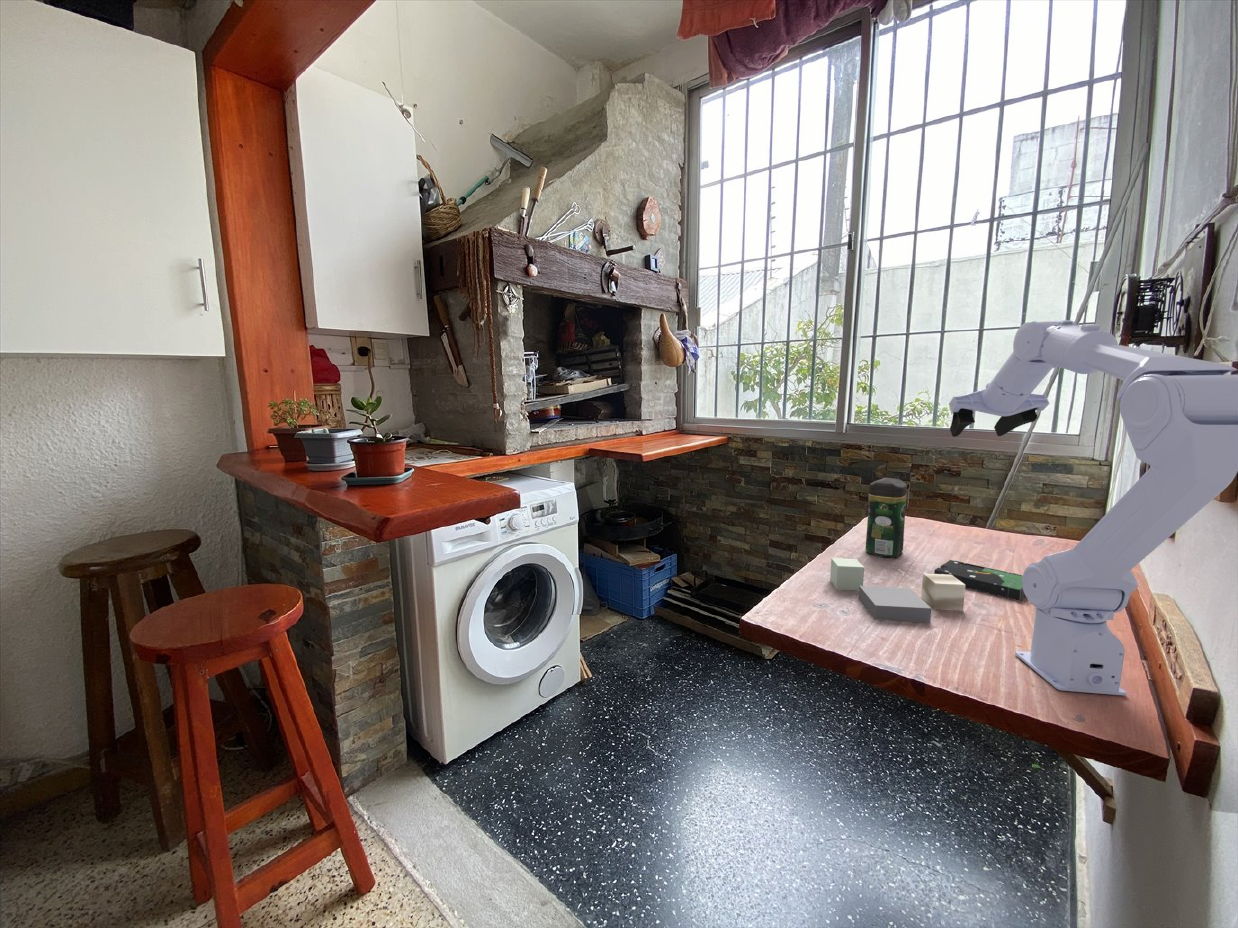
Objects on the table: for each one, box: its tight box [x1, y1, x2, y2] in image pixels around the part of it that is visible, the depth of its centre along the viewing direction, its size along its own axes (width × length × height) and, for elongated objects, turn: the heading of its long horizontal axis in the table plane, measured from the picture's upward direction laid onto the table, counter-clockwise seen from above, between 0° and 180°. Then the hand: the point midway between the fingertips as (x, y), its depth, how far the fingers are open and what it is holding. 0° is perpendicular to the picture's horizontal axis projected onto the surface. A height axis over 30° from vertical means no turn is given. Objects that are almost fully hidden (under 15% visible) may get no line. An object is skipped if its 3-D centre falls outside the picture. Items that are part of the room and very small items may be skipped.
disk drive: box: [933, 559, 1026, 602], centre depth 101 cm, size 10×3×15 cm
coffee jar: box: [865, 477, 908, 558], centre depth 120 cm, size 10×8×19 cm
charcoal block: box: [858, 585, 933, 623], centre depth 89 cm, size 9×9×3 cm
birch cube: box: [920, 573, 966, 611], centre depth 91 cm, size 5×5×5 cm
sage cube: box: [829, 557, 865, 592], centre depth 101 cm, size 5×5×5 cm
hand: (975, 432), depth 92 cm, fingers open, 7 cm apart
